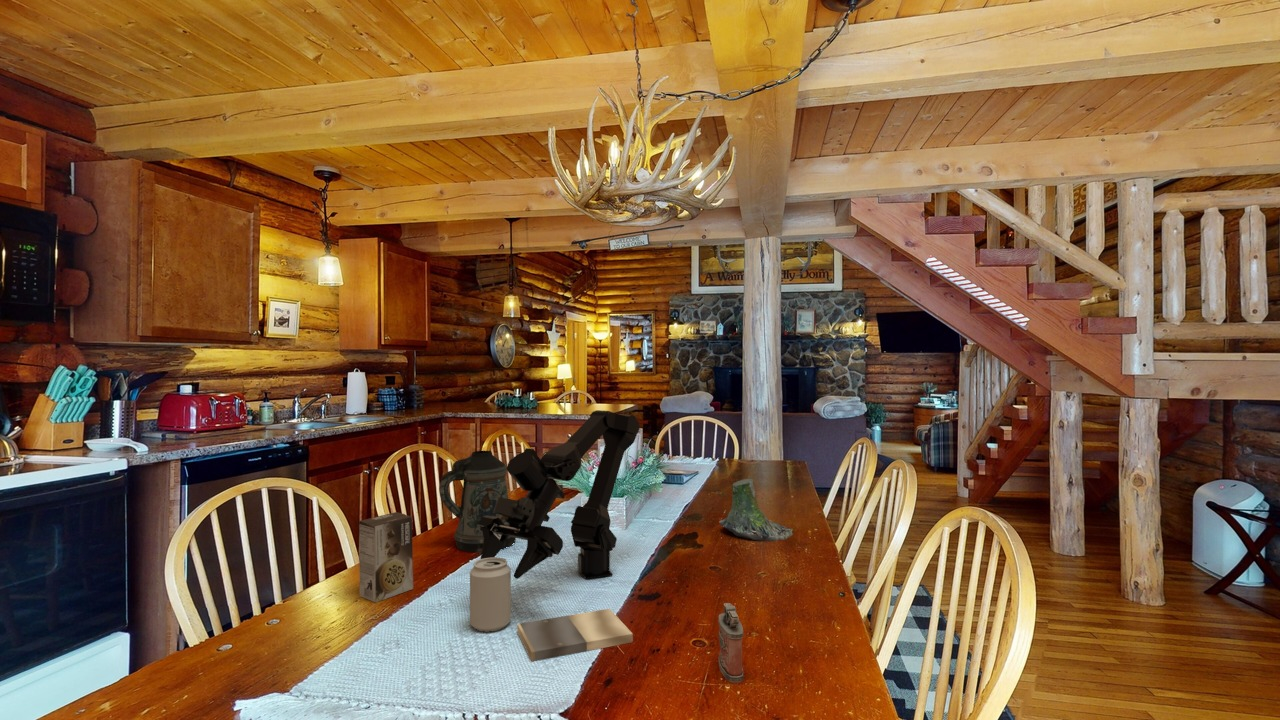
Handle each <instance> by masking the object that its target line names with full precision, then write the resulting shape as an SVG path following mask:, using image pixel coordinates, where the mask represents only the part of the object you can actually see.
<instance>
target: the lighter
mask: <svg viewBox="0 0 1280 720" xmlns="http://www.w3.org/2000/svg"><path fill="white" fill-rule="evenodd" d="M723 611H724V612H722V613H720V614H719V615H718V626H719V630H718V641H719V642H718V643H719V654H718V667H719V670H720V672H721V673H722V675H723V677H724V678H725V679H726V680H727V681H728V682H730V683H741V682H742V681H743V680H744V668H743V637H744V627H743V625H742V622H741V621H740V619H739V615H738V614H737V609H736V606H735V605H732V603H729V602H725V603H723Z"/></svg>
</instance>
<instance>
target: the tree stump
mask: <svg viewBox="0 0 1280 720" xmlns="http://www.w3.org/2000/svg"><path fill="white" fill-rule="evenodd" d="M731 489H732V495H731V496H732V499H731V500H732V501H731V509H730V511H729V512H728V514H727V517H724V519H722V520H719V521H718V522H719V524H720V525H721V526H722V527H724V528H725V529H726V530H727V531H729V532H731V533H733V534H734V536H735V537H737V538H743V539H747V540H750V541H757V542H759V541H760V542H777V541H780V540H781V541H782V540H787V539H789V538H790V537H792V536H793V535H794V533H793V532H794V528H789V527H787V526H784V525H781V524H779V523H777V522H773V521H770V520H769V519H768V518H767V517H766V515H765V514H764V512H763V510H761V509H760V507H759V503H758V499H757V496H756V494H757V493H756V491H755V487H754V478H743V479H740V480H738V481H736V482H733V483H732V488H731Z"/></svg>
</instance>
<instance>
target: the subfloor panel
mask: <svg viewBox="0 0 1280 720" xmlns="http://www.w3.org/2000/svg"><path fill="white" fill-rule="evenodd" d="M516 627H517V628H516V630H517V631H516V633H517V634H518V637H519V636H520V637H519V638H520V640H522V641H521V643H522V642H523V643H522V645H523V644H524V645H523V646H525V647H524V648H526V649H525V651H526V650H527V651H526V653H527V655H528V656H529V659H530V660H531V662H535V661H536V662H537V661H541V660H546V659H551V658H558V657H563V656H567V655H572V654H577V653H578V654H579V653H582V652H588V651H593V650H598V649H599V650H600V649H603V648H609V647H616V646H620V645H626V644H630V643H631V644H632V643H633V641H634V638H633V637H634V634H633V632H632V631H631V630H630V629H629V628H628V627H627V626H626V625H625V623H623V621H621V619H620V618H619V617H618V616H617V615H616V614H615V612H613V611H612V609H611V608H605V609H599V610H594V611H589V612H588V611H587V612H580V613H575V614H569V615H564V616H563V615H562V616H557V617H551V618H550V617H549V618H544V619H538V620H532V621H525V622H520V623H517V624H516Z"/></svg>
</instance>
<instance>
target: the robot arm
mask: <svg viewBox="0 0 1280 720" xmlns="http://www.w3.org/2000/svg"><path fill="white" fill-rule="evenodd" d="M639 431H640V422H639V420H638V419H637V417H636V416H635V415H633V414H619V413H615V412H612V411H610V410H599V409H598V410H594V411H592V412H591V413H590V416H589V417H588V419H587V420H586V421H584V423H583V424H582V425H581V426H580V427H579V428H578V429H577V430H576V431H575V432H574V433H573V434H572V435H571V436H570V437H569V439H568V440H567V441H565V442H564V443H561V444H560V445H556V446H554V447H552V448H551V449H549V450H548V451H546V452H544V454H543V455H542V456H541V458H540V457H539V455H538V453H537V451H536V450H535V448H529V447H528V448H527V447H526V448H525V449H524V450H523V451H522V452H520V453H518V454H516V455H515V456H513V457H512V458H511V459H510V460H509V461H508V463H507V465H506V466H507V472H508V474H509V475H510V476H511V478H513V480H514V481H515V482H516V483H517V484H518V486H519V487H520V488H521V489H522V490H523V491H525V492H526V494H525V497H523V496H522V497H520V498H519V499H513V498H508V499H507V498H501V497H498V499H497V502H496V505H495V509H494V512H493V513H494V514H500V515H503V516H505V518H504V520H505V521H506V522H508V523H509V526H506V525H505V524H504V523H503V522H502V521H501V520H500V519H499V518H498V517H492V516H483V517H482V518H481V519H480V521H479V523H478V524H477V526H478V527H479V528H480V532H481V533H482V534H483V537H484V543H483V549H482V553H481V555H480V557H479V560H480V559H484V558H490V557H496V556H497V554H499V552H501V551H502V550H501V549H502V548H503V546H504V544H503V543H502V542H504V541H506V540H507V538H508V537H514V538H516V539H519V540H525V541H527V543H526V549H525V550H524V553H523V555H522V557H521V559H520V561H519V563H518V564H517V567H516V569H515V572H514V574H513V577H514V579H515V580H516V579H519V578H521V577H522V576H524V575H525V574H526V573H527V572H529V571H530V570H532V569H533V568H534V567H536V566H537V565H538V564H540V563H542V562H543V561H545V560H546V559H548V558H553V556H554V555H557V556H559V555H560V553H561V552H562V549H563V547H564V541H563V539H562V538H561V536H560V535H559V534H558V533H557V531H555V529H554V528H553V527H550V526H544V525H542V524H543V523H544V522H546V523H548V522H549V520H550V518H551V517H550V516H549V512H550V510H551V508H552V506H553V505H554V503H555V501H556V499H563V500H564V499H565V492H564V486H563V485H562V484H561V485H560V484H558V482H557V481H564V482H570V481H571V480H573V479H574V477H576V475H577V474H578V472H579V470H580V468H581V467H582V459H583V457H584V456H585V454H586V453H588V451H589V450H590V449H591V448H592V447H593V446H594V444H595V443H596V442H597V441H598V440H599V439H600V438H601V437H602V438H603V442H604V449H603V451H602V453H601V457H600V461H599V464H598V467H597V470H596V473H595V477H594V479H593V480H594V481H593V483H592V487H591V489H590V492H589V496H588V499H587V501H586V502H585V504H583V505H582V506H580V505H578V506H576V508H575V509H574V515H573V518H572V520H571V522H570V524H571V525H570V533H571V537H572V541H573V544H574V547H575V548H577V547H578V548H580V550H579V553H578V554H577V571H578V573H580V574H581V576H582V577H583V578H584V579H586V580H590V579H591V580H592V579H597V578H604V577H609V576H610V577H611V576H613V572H612V571H611V567H610V565H611V563H610V562H611V561H610V559H611V557H610V555H611V554H610V551H613V549H614V548H616V545H617V537H616V535H615V534H614V532H613V531H612V530H611V529H610V527H611V517H610V514H609V509H608V508H609V505H610V501H611V498H612V495H613V491H614V489H615V484H616V481H617V478H618V475H619V471H620V467H621V464H622V460H623V457H624V454H625V452H626V451H627V450H628V449H629V448H630V447H632V445H633V444H634V442H635V441H636V439H637V436H638V433H639Z"/></svg>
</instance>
